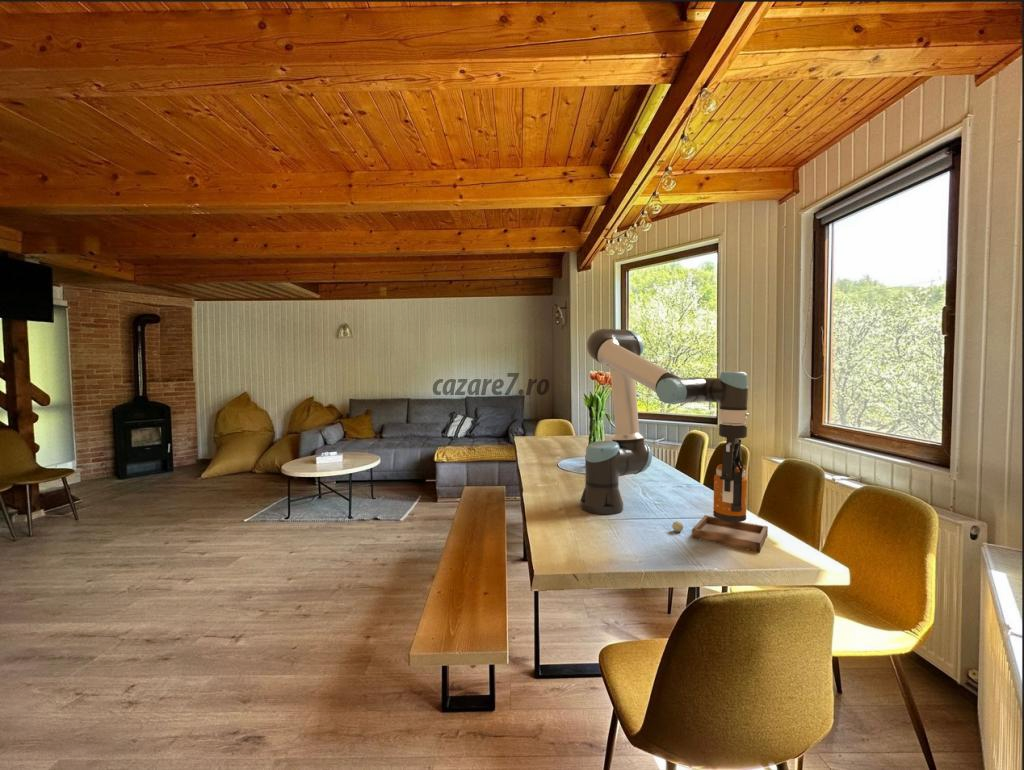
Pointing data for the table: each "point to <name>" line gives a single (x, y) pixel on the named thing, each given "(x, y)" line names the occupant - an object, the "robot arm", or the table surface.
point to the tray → (731, 533)
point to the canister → (738, 507)
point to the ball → (677, 526)
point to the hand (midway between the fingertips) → (731, 497)
